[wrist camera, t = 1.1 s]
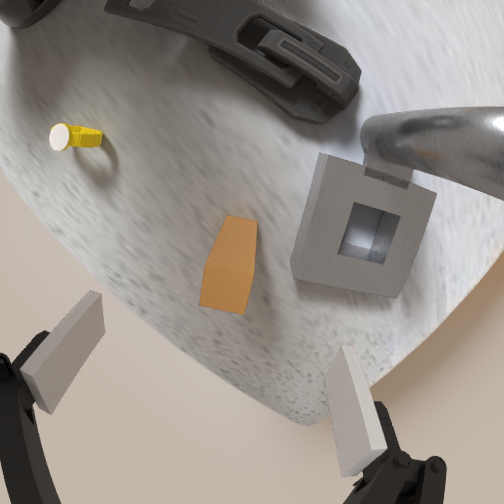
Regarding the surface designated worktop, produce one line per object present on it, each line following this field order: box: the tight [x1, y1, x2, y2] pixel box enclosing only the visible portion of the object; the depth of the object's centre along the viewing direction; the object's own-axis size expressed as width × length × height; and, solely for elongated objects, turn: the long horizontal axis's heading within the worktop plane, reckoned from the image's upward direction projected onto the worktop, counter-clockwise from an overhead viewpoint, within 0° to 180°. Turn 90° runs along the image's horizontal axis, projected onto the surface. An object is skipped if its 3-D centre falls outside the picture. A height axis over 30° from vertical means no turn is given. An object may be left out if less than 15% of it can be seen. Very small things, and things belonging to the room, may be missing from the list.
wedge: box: [199, 215, 258, 315], centre depth 24 cm, size 3×3×12 cm
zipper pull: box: [104, 0, 361, 124], centre depth 19 cm, size 9×7×25 cm
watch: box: [49, 123, 103, 151], centre depth 23 cm, size 6×3×6 cm, turn 70°
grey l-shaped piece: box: [290, 107, 504, 298], centre depth 19 cm, size 18×12×20 cm
